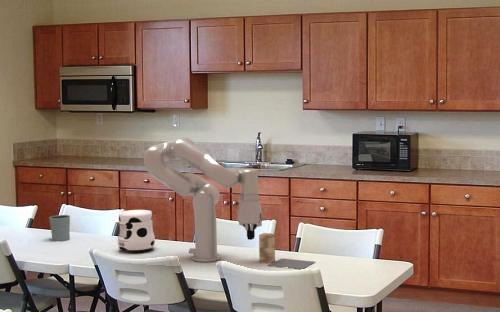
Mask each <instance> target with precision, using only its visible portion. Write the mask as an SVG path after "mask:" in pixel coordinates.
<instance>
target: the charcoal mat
mask: <svg viewBox="0 0 500 312" xmlns="http://www.w3.org/2000/svg"><path fill="white" fill-rule="evenodd" d="M315 263H316V261H311V260H303V259H293V258H280V259H278V260H275V261H274V262H272V263H270V264H269V263H268V264H267V265H266V266H267V267H272V266H276V267H275V268H281V267H288V268H287V269H291V268H294V270H300V269H303V270H304V269H307V268H308V267H309V266H311V265H314V264H315Z"/></svg>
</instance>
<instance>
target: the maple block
mask: <svg viewBox="0 0 500 312" xmlns="http://www.w3.org/2000/svg"><path fill="white" fill-rule="evenodd" d="M275 236H276V235H275V233H268V232H263V233H261V234H259V235H258V240H259V241H258V248H259V249H258V252H259V254H258V255H259V258H258V259H259V263H262V264H269V263H270V264H271V263H273V262H275V261H276V242H275V241H276V240H275V238H276V237H275Z"/></svg>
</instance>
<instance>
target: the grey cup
mask: <svg viewBox="0 0 500 312" xmlns="http://www.w3.org/2000/svg"><path fill="white" fill-rule="evenodd" d="M70 217H71V216H70V215H68V214H60V215H59V214H57V215H51V216H49V218H48V219H49V224H50V231H51V232H50V233H51V240H53V242H56V241H60V242H67V241H69V240H70V236H71V235H70V232H71V231H70V224H71V220H70V219H71V218H70Z"/></svg>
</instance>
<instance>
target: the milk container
mask: <svg viewBox="0 0 500 312" xmlns="http://www.w3.org/2000/svg"><path fill="white" fill-rule="evenodd" d="M118 213H119V214H118V236H117V245H118V249H119V250H121V251H124V252H127V253H141V252H146V251H150V250H152V249H153V248H154V247H155V243H156V242H155V241H156V238H155V233H154V230H153V228H154V227H153V213H152V210H147V209H130V210H123V211H120V212H118Z"/></svg>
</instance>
